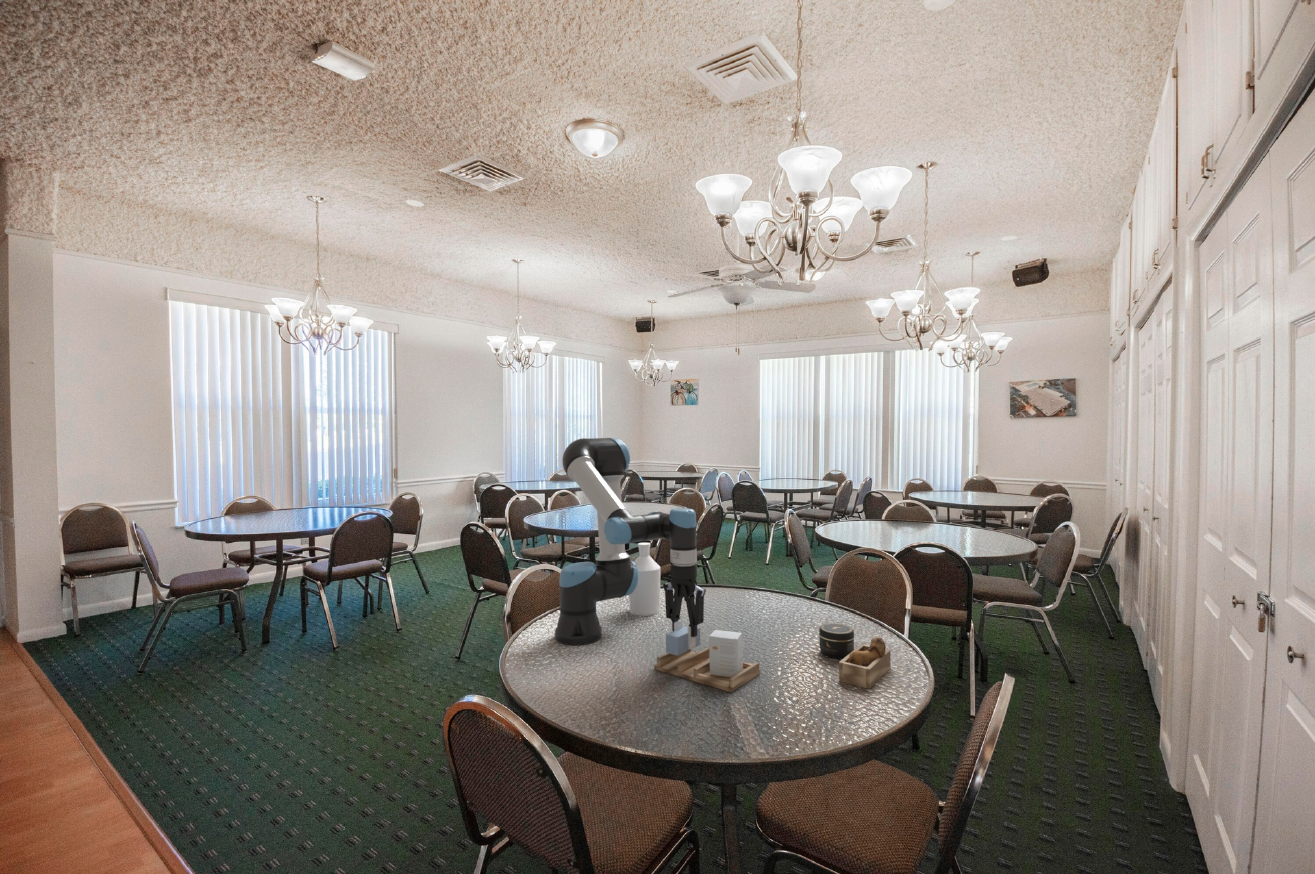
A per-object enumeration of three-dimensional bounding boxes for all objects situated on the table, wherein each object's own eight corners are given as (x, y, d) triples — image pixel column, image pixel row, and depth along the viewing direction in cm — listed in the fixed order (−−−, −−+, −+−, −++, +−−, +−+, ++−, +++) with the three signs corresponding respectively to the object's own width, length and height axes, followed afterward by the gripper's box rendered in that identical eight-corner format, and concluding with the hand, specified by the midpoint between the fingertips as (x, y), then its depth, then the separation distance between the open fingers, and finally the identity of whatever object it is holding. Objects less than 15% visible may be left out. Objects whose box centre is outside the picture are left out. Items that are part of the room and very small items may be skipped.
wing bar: (666, 652, 164) (665, 634, 164) (688, 642, 172) (688, 624, 172) (677, 655, 161) (677, 637, 161) (700, 644, 170) (700, 627, 170)
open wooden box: (839, 681, 155) (839, 662, 155) (861, 661, 169) (861, 643, 169) (869, 688, 150) (869, 669, 150) (890, 667, 164) (890, 649, 164)
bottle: (622, 610, 220) (621, 543, 220) (646, 604, 228) (645, 539, 228) (643, 617, 211) (642, 548, 211) (667, 610, 219) (666, 543, 219)
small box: (743, 671, 160) (743, 632, 160) (738, 679, 155) (738, 639, 155) (714, 667, 163) (714, 629, 163) (709, 674, 158) (708, 635, 158)
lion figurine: (874, 665, 165) (874, 633, 165) (891, 671, 161) (891, 638, 161) (838, 677, 157) (838, 643, 157) (855, 684, 153) (854, 649, 153)
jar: (813, 654, 174) (812, 628, 174) (828, 645, 182) (828, 620, 182) (845, 663, 168) (845, 636, 168) (860, 653, 175) (859, 627, 175)
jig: (654, 668, 165) (654, 656, 165) (685, 653, 176) (685, 641, 176) (731, 692, 149) (731, 678, 149) (760, 673, 161) (760, 660, 161)
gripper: (651, 562, 170) (653, 643, 170) (701, 569, 159) (702, 656, 159) (667, 557, 176) (669, 636, 175) (716, 564, 165) (717, 648, 165)
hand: (684, 645), depth 167 cm, fingers closed on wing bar, 4 cm apart
